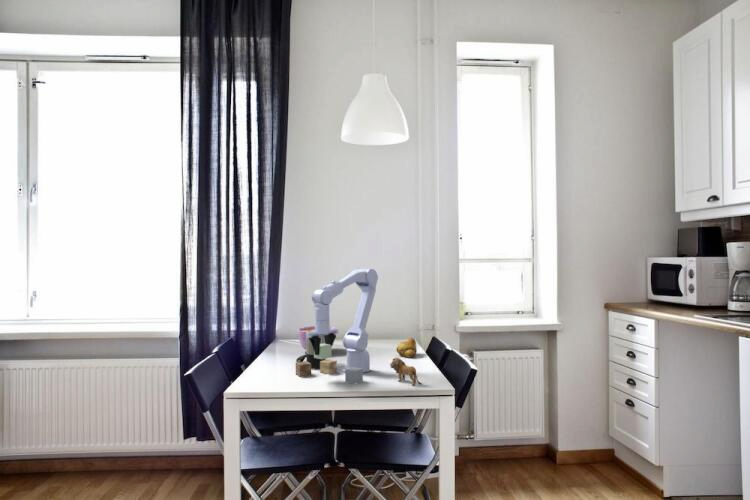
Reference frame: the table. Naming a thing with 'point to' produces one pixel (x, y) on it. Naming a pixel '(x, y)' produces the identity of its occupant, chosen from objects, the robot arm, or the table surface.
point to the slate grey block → (354, 375)
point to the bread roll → (407, 348)
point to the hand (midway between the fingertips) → (322, 353)
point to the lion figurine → (404, 370)
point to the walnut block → (303, 369)
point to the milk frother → (311, 354)
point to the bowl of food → (303, 337)
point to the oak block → (328, 366)
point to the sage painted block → (324, 352)
